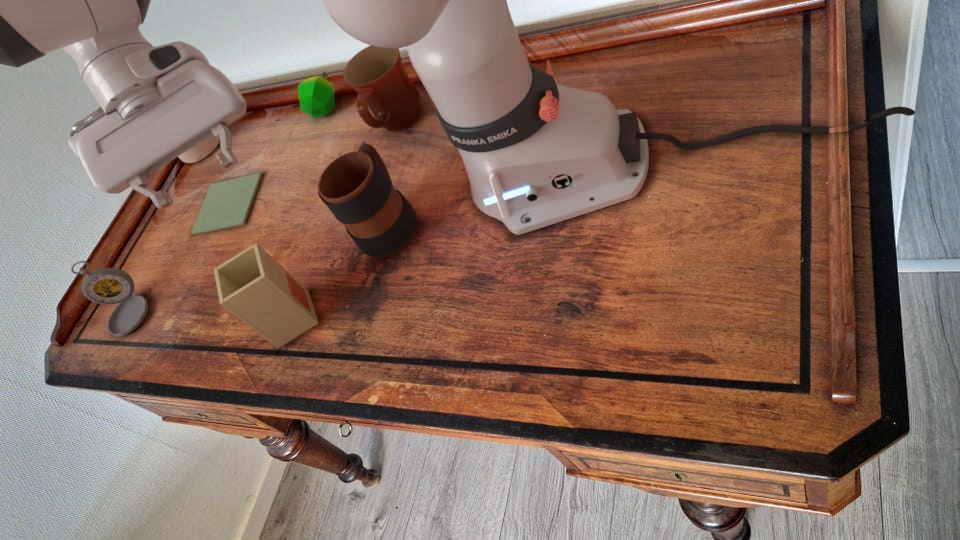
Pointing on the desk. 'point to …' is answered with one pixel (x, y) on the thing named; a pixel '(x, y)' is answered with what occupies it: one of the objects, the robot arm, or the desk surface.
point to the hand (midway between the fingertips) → (199, 185)
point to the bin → (265, 296)
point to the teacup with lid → (200, 150)
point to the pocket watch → (114, 297)
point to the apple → (316, 96)
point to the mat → (227, 204)
